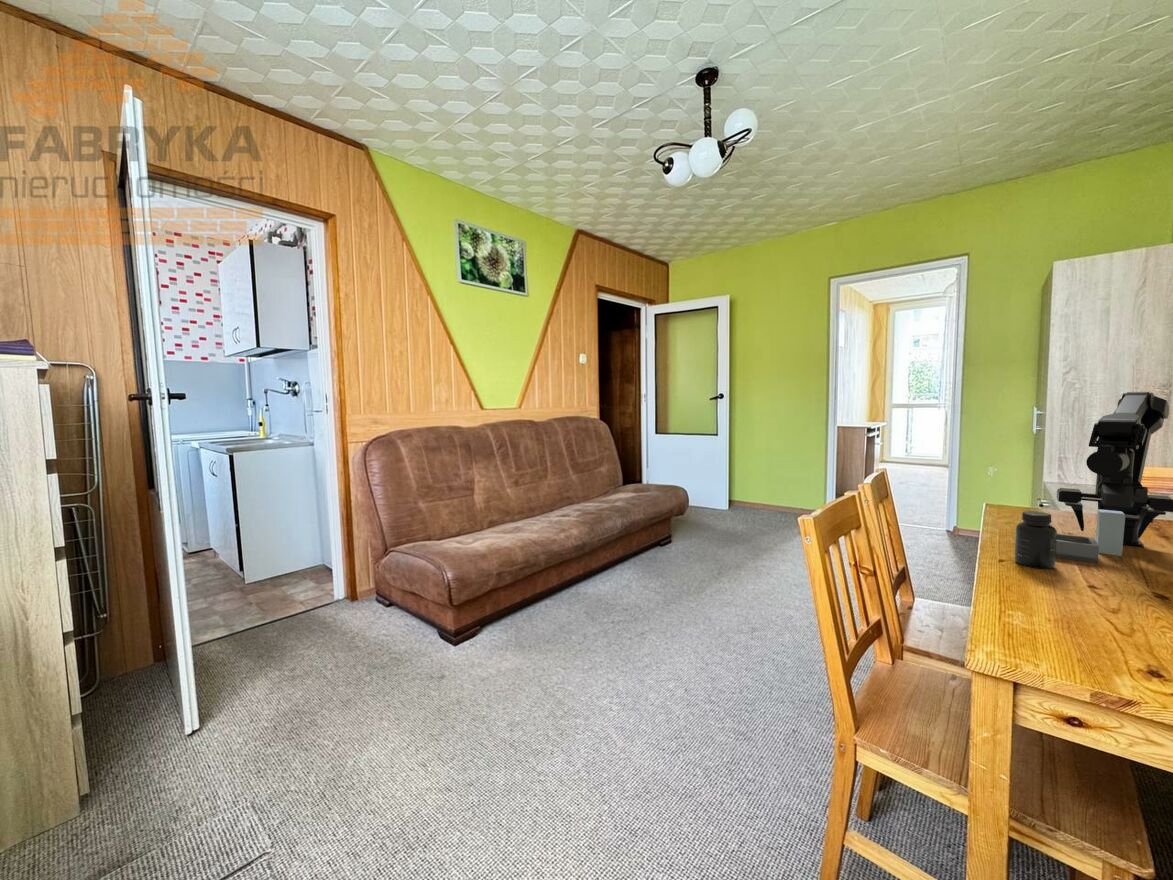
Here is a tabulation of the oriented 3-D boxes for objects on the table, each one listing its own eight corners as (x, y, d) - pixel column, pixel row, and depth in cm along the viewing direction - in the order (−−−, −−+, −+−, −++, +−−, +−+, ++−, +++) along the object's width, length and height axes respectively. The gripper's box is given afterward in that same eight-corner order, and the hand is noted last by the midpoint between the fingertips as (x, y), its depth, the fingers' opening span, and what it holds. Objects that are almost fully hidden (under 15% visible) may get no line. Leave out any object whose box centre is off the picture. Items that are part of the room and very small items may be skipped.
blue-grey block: (1094, 548, 118) (1097, 509, 117) (1118, 551, 115) (1121, 511, 114) (1097, 552, 115) (1100, 512, 114) (1121, 556, 112) (1125, 514, 111)
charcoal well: (1046, 547, 119) (1047, 532, 119) (1092, 553, 114) (1093, 537, 113) (1048, 556, 113) (1050, 539, 113) (1097, 563, 108) (1099, 546, 107)
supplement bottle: (1037, 559, 111) (1041, 509, 110) (1063, 569, 104) (1067, 517, 103) (1006, 558, 112) (1009, 509, 111) (1030, 569, 105) (1033, 517, 104)
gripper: (1063, 471, 113) (1058, 535, 114) (1186, 479, 101) (1179, 550, 102) (1058, 465, 121) (1054, 524, 123) (1172, 472, 109) (1165, 537, 111)
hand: (1109, 534), depth 114 cm, fingers open, 9 cm apart
